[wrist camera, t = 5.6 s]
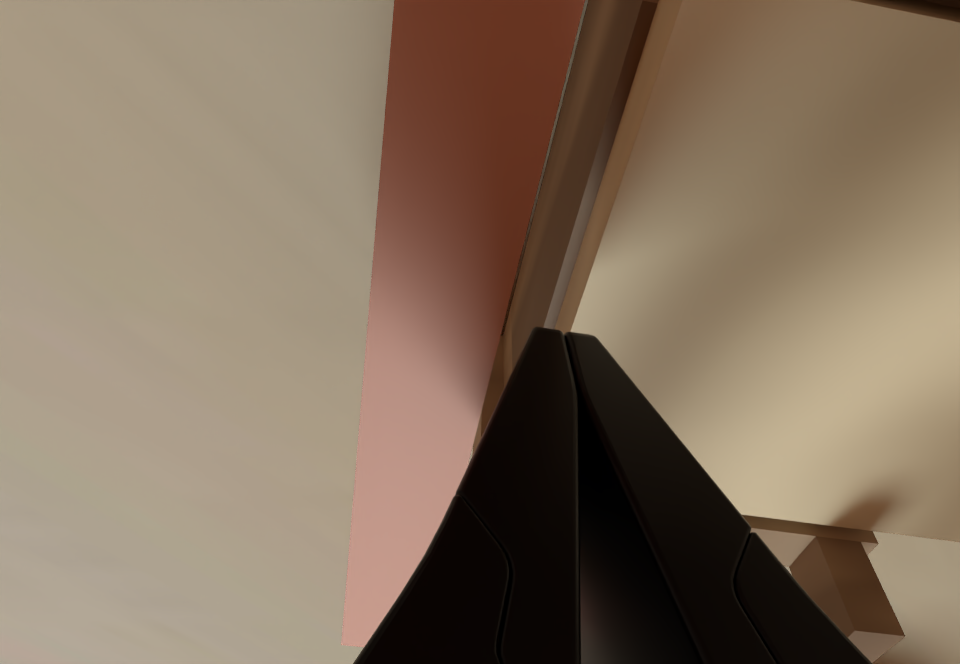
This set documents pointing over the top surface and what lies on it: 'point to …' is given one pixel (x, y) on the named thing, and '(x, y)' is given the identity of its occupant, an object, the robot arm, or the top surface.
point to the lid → (792, 254)
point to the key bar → (444, 263)
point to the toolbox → (547, 272)
